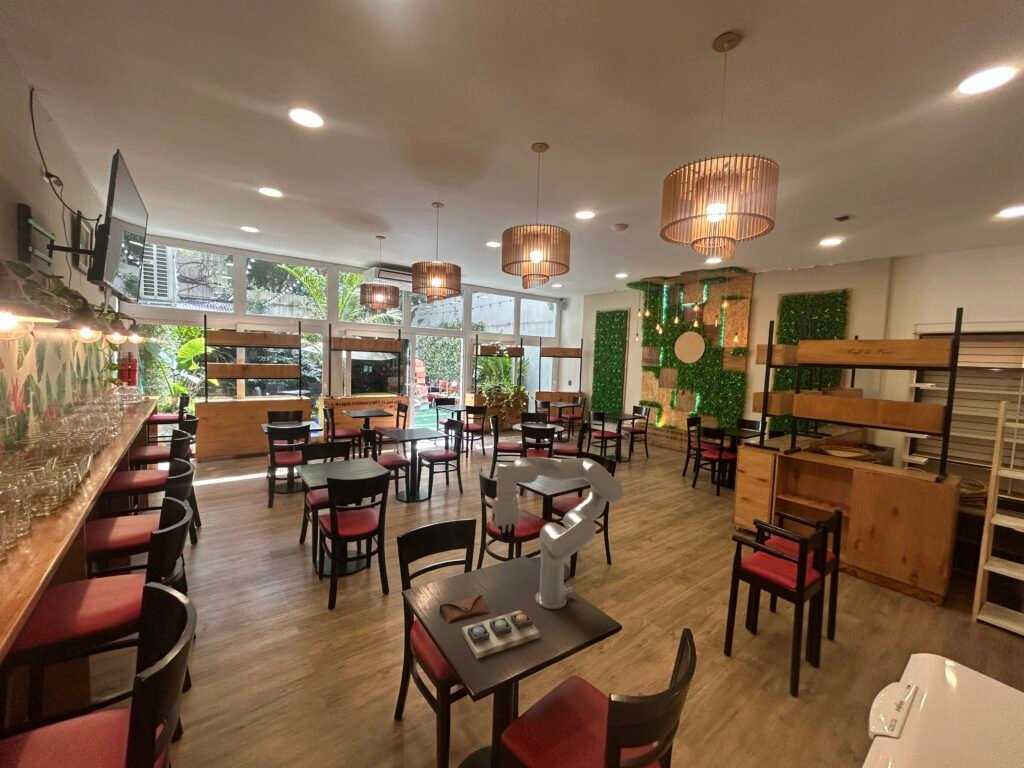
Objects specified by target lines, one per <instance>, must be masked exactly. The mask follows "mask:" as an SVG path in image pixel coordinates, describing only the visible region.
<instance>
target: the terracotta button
mask: <svg viewBox="0 0 1024 768" xmlns="http://www.w3.org/2000/svg"><path fill="white" fill-rule="evenodd" d="M516 620H517V621H518V623H522V622H525V621H527V616H526V615H525V614H518V615H517V616H516Z"/></svg>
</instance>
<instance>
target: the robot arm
mask: <svg viewBox="0 0 1024 768" xmlns="http://www.w3.org/2000/svg"><path fill="white" fill-rule="evenodd" d="M496 470H497V471H496V472H497V473H496V497H494V499H493V503H492V506H491V507H492V508H491V522H492V525H491V526H492V528H493V529H496V530H499V531H500V540H501V541H502V542H503V543H509V541H510V540H509V539H510V532H511V530H512V528H514V526H517V525H518V524H519V518H520V517H519V516H520V512H519V511H520V509H519V502H518V501H519V500H518V498H517V495H518V494H519V493H520V491H519V490H518V489H517V483H520V484H533V483H534V482H536V481H537V479H538V476H543V477H546V478H549V479H552V480H554V481H575V480H577V481H578V480H584V481H585V482H587V483H589V484H590V488H589V489H590V490H589V493H588V495H587V497H586V498H585V499H584V500H583V501H581V502H580V503H579V504H577V505H576V506H574V507H573V508H572V509H570V510H569V511H568V512H566V513H565V515H564V516H563V518H562V523H563V525H564V527H565V528H566V530H565V529H564V528H563V527H562V526H561V525H559V524H557V523H555V522H547V523H546V524H544V525H542V527H541V529H540V531H539V532H540V533H539V543H540V544H539V545H540V570H539V572H540V573H539V591H538V592H537V593H536V594H535V602H536V603H537V604H538V605H539V606H540V607H541V608H544V609H548V610H557V609H558V610H559V609H561V608H563V607H565V606H566V604H567V596H566V595H567V594H571V593H573V591H574V590H573V588H572V587H571V586H570V587H567V586H566V585H564V580H565V579H564V577H565V574H564V573H565V559H568V558H569V557H571V556H572V555H574V554H576V553H577V552H578V551H580V550H581V549H582V548H583V547H585V546H586V545H588V543H590V542H591V541H592V540H593V538H594V537H595V536H596V534H597V526H596V523H595V520H596V519H597V518H599V517H601V515H602V514H603V512H604V510H605V508H606V505H607V502H608V503H612V504H613V503H618V502H619V501H621V500H622V498H623V495H624V488H623V486H622V485H621V483H620V482H619V481H618V480H617V479H616V478H615V477H614V476H613V475H612V474H611V473H610V472H609V471H608V470H607V469H606V468H605V467H604V466H603V465H601V464H600V463H599V462H597V461H595V460H593V459H591V458H588V457H575V458H553V457H550V458H549V457H539V456H534V457H533V456H532V457H531V456H530V457H520V458H516V460H514V462H512V461H511V462H509V461H505V462H504V461H502V462H499V463H498V464H497V469H496ZM569 589H570V590H569Z"/></svg>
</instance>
